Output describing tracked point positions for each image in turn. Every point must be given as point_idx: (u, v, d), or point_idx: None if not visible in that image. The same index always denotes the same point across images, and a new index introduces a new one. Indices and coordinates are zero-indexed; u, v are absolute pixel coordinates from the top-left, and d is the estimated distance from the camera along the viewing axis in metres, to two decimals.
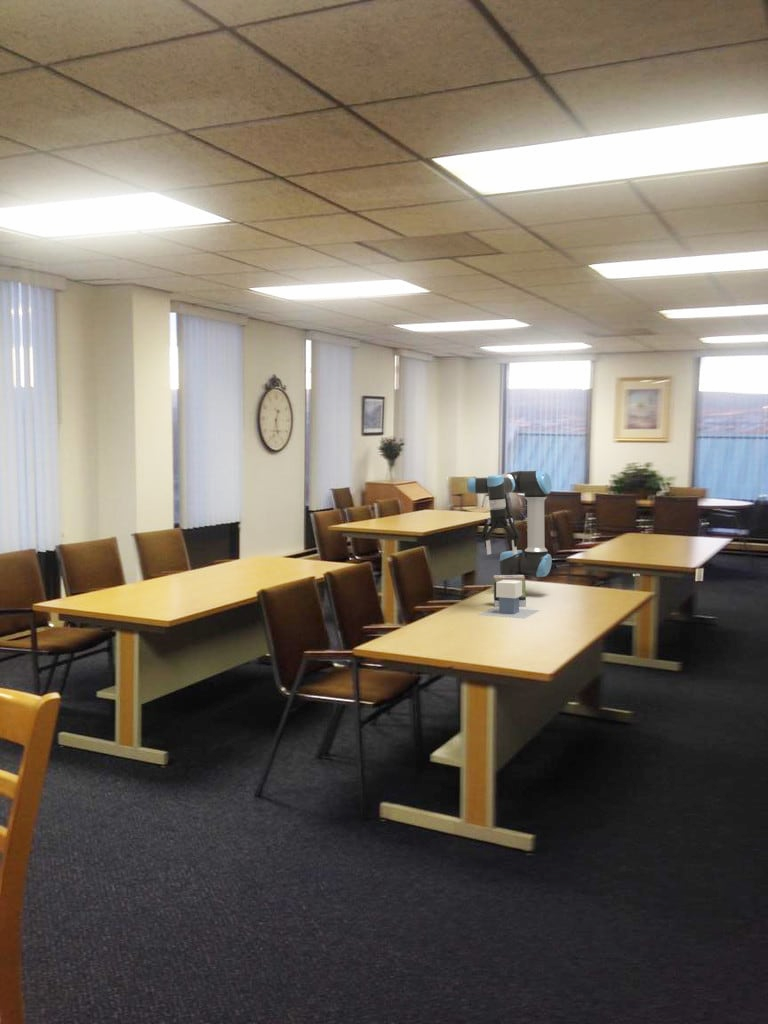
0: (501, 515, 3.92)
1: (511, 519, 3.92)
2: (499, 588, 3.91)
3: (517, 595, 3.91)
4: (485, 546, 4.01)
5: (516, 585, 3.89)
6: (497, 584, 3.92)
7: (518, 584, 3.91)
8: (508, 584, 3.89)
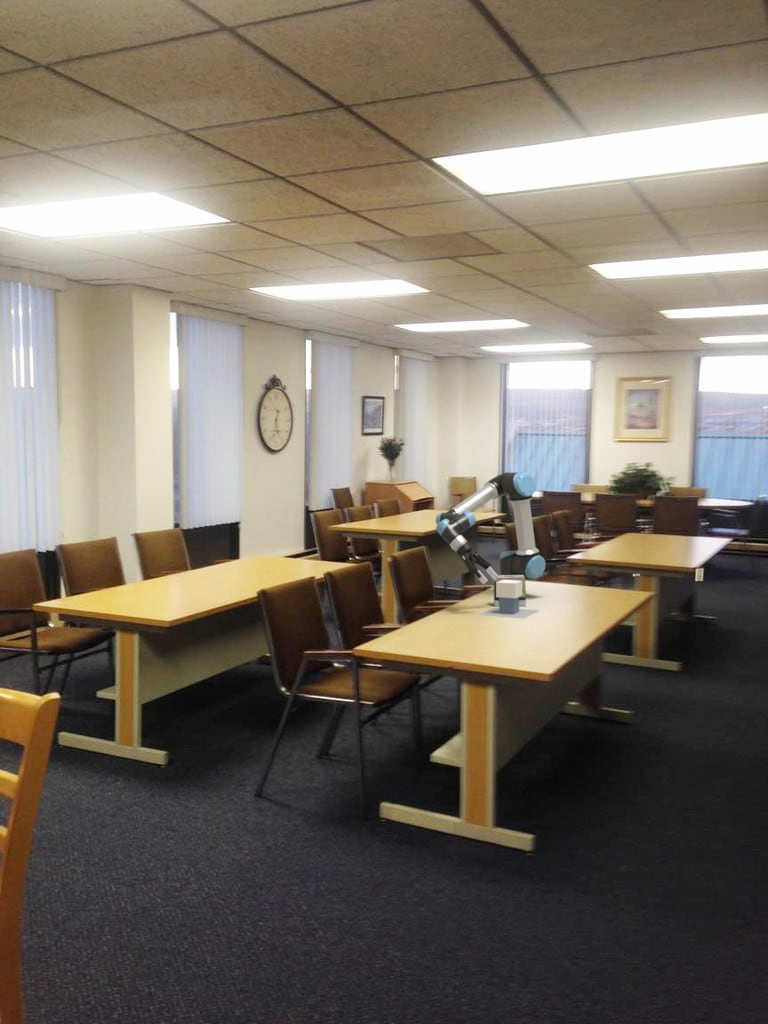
0: (460, 555, 4.01)
1: (462, 557, 3.96)
2: (499, 588, 3.91)
3: (517, 595, 3.91)
4: None
5: (516, 585, 3.89)
6: (497, 584, 3.92)
7: (518, 584, 3.91)
8: (508, 584, 3.89)
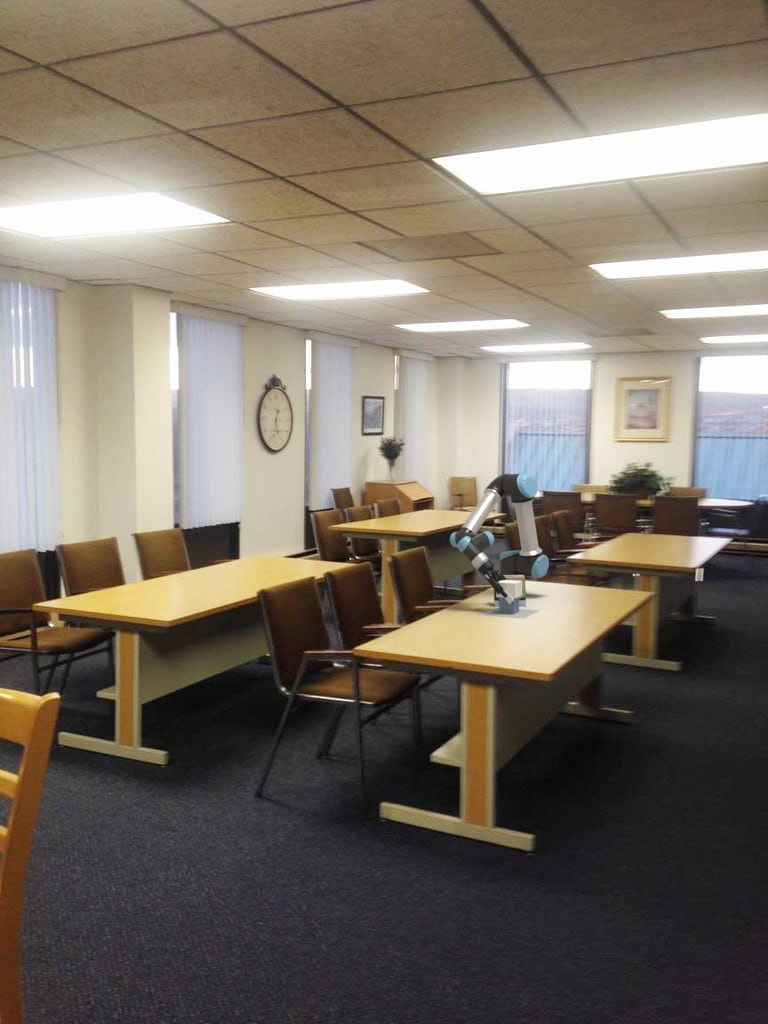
0: (482, 573, 3.97)
1: (485, 576, 3.92)
2: None
3: (517, 595, 3.91)
4: None
5: (516, 585, 3.89)
6: None
7: (518, 584, 3.91)
8: (508, 584, 3.89)
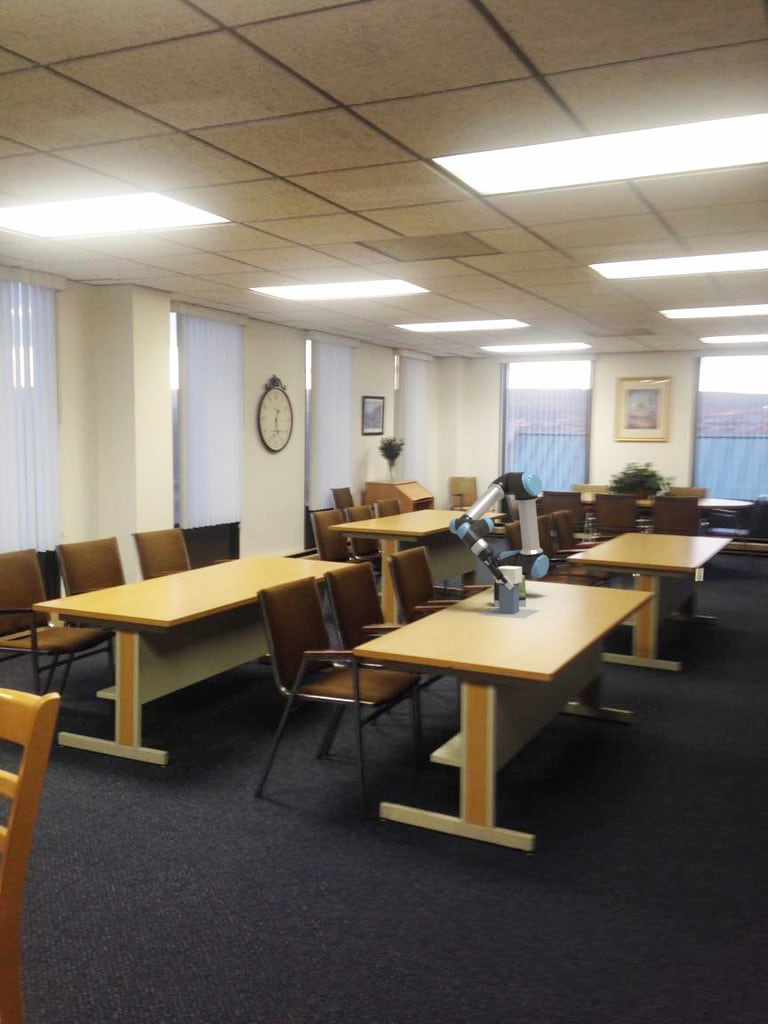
0: (481, 559, 3.96)
1: (485, 562, 3.91)
2: None
3: (517, 581, 3.90)
4: None
5: (516, 571, 3.89)
6: None
7: (518, 570, 3.91)
8: (508, 570, 3.89)
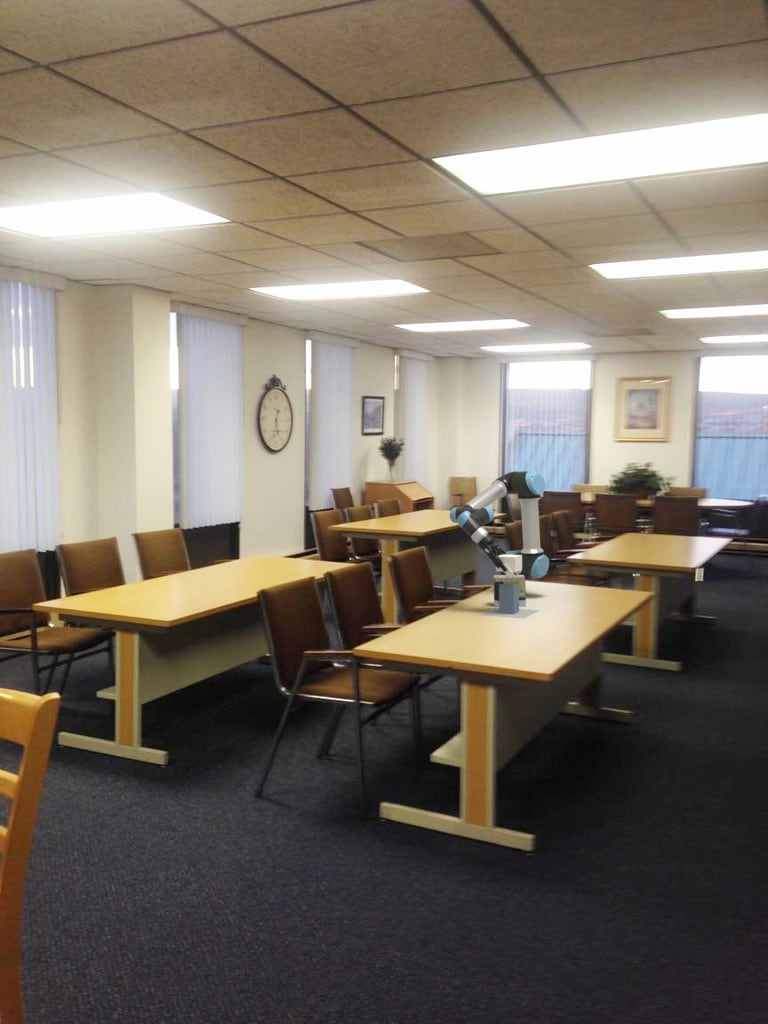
0: (481, 547, 3.96)
1: (485, 550, 3.91)
2: None
3: (517, 569, 3.90)
4: None
5: (516, 559, 3.88)
6: None
7: (518, 558, 3.91)
8: (508, 558, 3.88)
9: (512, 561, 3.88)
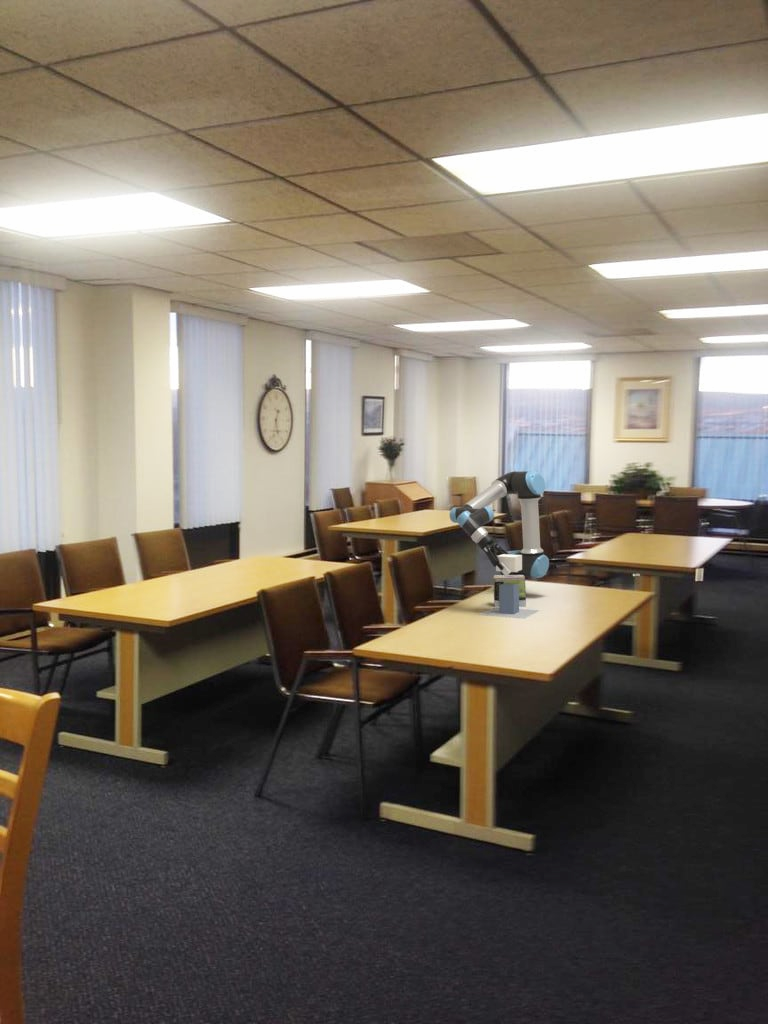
0: (481, 547, 3.96)
1: (484, 549, 3.91)
2: (499, 562, 3.91)
3: (517, 569, 3.90)
4: None
5: (516, 559, 3.88)
6: None
7: (518, 558, 3.91)
8: (508, 558, 3.88)
9: (512, 561, 3.88)
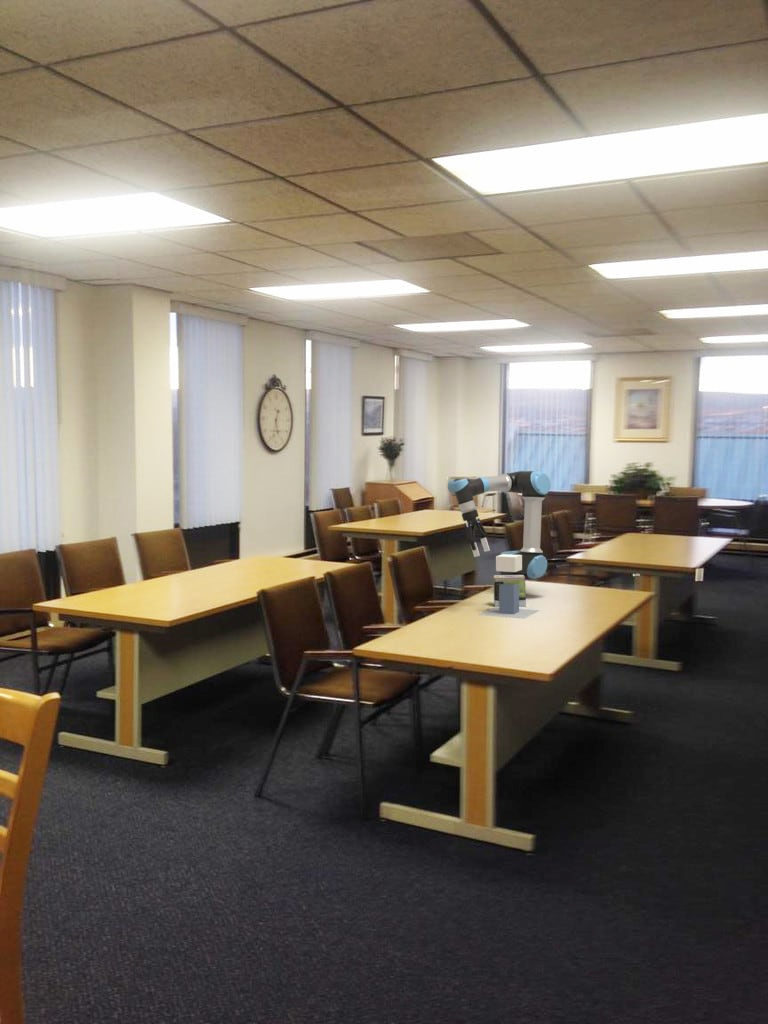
0: (464, 519, 4.04)
1: (465, 524, 4.00)
2: (499, 562, 3.91)
3: (517, 569, 3.90)
4: None
5: (516, 559, 3.88)
6: (497, 558, 3.91)
7: (518, 558, 3.91)
8: (508, 558, 3.88)
9: (512, 561, 3.88)
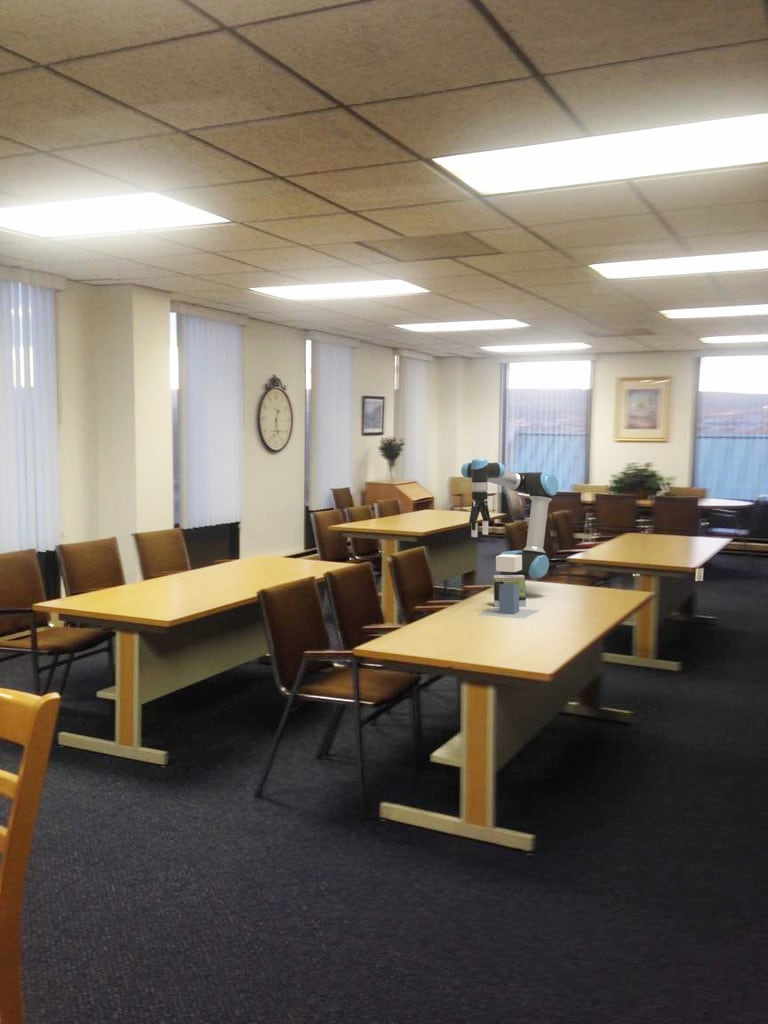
0: (472, 498, 4.07)
1: (473, 503, 4.02)
2: (499, 562, 3.91)
3: (517, 569, 3.90)
4: None
5: (516, 559, 3.88)
6: (497, 558, 3.91)
7: (518, 558, 3.91)
8: (508, 558, 3.88)
9: (512, 561, 3.88)
